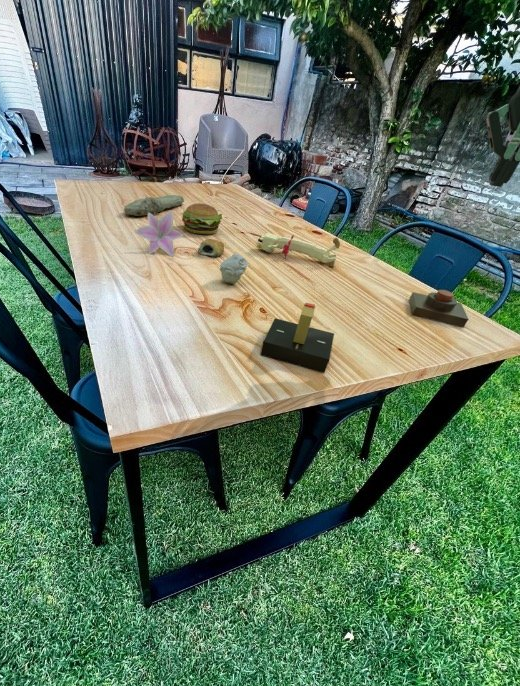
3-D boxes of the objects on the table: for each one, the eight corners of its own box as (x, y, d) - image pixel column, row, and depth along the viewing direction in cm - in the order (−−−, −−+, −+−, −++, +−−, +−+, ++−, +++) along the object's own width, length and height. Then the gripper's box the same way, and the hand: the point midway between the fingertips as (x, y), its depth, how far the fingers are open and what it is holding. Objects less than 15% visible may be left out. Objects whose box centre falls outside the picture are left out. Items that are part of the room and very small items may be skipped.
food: (175, 232, 115) (175, 205, 110) (187, 222, 125) (188, 197, 120) (215, 239, 114) (217, 212, 108) (224, 228, 124) (226, 204, 119)
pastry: (209, 245, 108) (210, 232, 106) (229, 250, 107) (230, 237, 104) (196, 253, 101) (197, 240, 99) (217, 259, 100) (219, 245, 97)
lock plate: (329, 346, 69) (334, 332, 67) (324, 373, 62) (329, 358, 60) (271, 331, 71) (275, 317, 69) (260, 355, 64) (263, 340, 62)
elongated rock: (190, 208, 146) (169, 205, 149) (190, 194, 143) (169, 190, 146) (140, 218, 120) (117, 214, 123) (139, 201, 117) (115, 197, 120)
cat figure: (332, 263, 112) (258, 241, 114) (343, 235, 106) (265, 213, 108) (330, 274, 104) (252, 250, 107) (342, 244, 98) (259, 220, 101)
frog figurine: (248, 286, 88) (253, 258, 83) (224, 288, 85) (228, 260, 80) (237, 276, 92) (241, 249, 87) (213, 279, 89) (216, 251, 84)
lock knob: (303, 344, 63) (312, 315, 59) (292, 341, 63) (301, 313, 59) (307, 332, 66) (315, 304, 63) (297, 329, 67) (305, 301, 63)
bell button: (448, 298, 86) (452, 291, 85) (451, 304, 84) (455, 297, 83) (433, 295, 87) (437, 288, 86) (435, 300, 84) (439, 293, 83)
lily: (130, 251, 100) (131, 225, 91) (150, 226, 104) (153, 199, 96) (167, 272, 100) (171, 248, 92) (185, 247, 105) (191, 221, 96)
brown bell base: (456, 310, 90) (464, 296, 88) (463, 327, 83) (473, 312, 80) (408, 299, 93) (415, 285, 90) (411, 315, 85) (419, 299, 83)
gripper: (529, 34, 47) (458, 181, 58) (642, 44, 45) (545, 196, 56) (513, 43, 53) (451, 176, 64) (612, 52, 50) (530, 189, 61)
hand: (495, 185), depth 60 cm, fingers closed
